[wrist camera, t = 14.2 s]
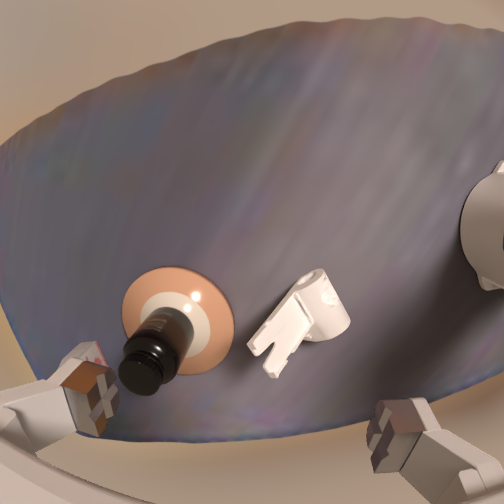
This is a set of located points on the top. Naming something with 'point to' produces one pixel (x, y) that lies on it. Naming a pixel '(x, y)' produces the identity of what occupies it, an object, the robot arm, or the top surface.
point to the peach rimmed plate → (191, 304)
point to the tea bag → (86, 353)
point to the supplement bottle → (156, 351)
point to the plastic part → (300, 320)
